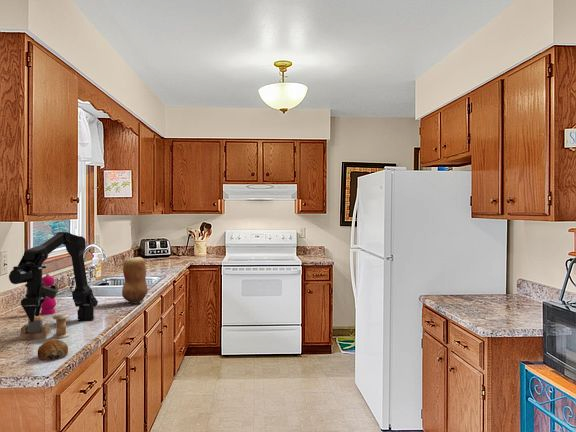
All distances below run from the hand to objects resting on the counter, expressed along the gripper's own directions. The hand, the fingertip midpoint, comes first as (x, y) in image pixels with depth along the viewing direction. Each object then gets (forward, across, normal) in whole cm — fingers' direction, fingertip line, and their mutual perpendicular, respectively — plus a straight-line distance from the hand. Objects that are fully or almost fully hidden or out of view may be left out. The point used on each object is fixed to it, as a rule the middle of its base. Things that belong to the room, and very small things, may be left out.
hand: (34, 319), depth 207 cm
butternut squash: (+7, +64, -37) cm, 74 cm away
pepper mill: (+7, +47, +4) cm, 48 cm away
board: (+7, +2, 0) cm, 8 cm away
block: (+5, 0, 0) cm, 5 cm away
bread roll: (+8, -30, -12) cm, 34 cm away
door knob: (+7, -2, -10) cm, 13 cm away
